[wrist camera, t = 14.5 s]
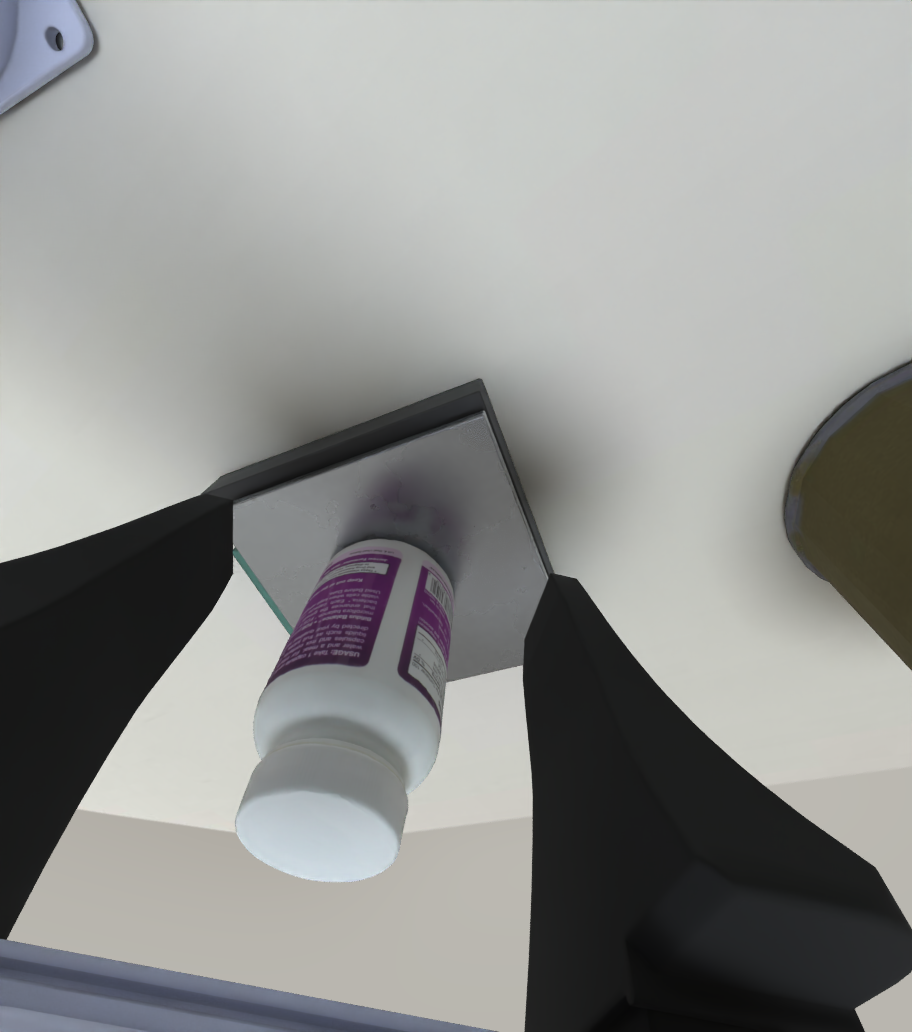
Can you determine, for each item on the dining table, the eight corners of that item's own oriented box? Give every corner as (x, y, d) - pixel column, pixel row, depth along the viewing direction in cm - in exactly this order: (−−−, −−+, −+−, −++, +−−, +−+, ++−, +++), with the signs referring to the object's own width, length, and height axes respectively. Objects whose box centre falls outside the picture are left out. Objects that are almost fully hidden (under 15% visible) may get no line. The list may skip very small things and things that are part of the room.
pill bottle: (311, 617, 21) (190, 866, 13) (340, 515, 19) (212, 744, 10) (432, 655, 22) (391, 918, 14) (476, 561, 19) (458, 814, 11)
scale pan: (349, 695, 25) (345, 705, 24) (218, 505, 20) (210, 513, 19) (573, 643, 22) (575, 653, 21) (484, 409, 17) (483, 414, 17)
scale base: (348, 669, 27) (336, 706, 25) (219, 476, 22) (190, 502, 20) (569, 615, 24) (576, 651, 22) (481, 377, 19) (479, 395, 17)
